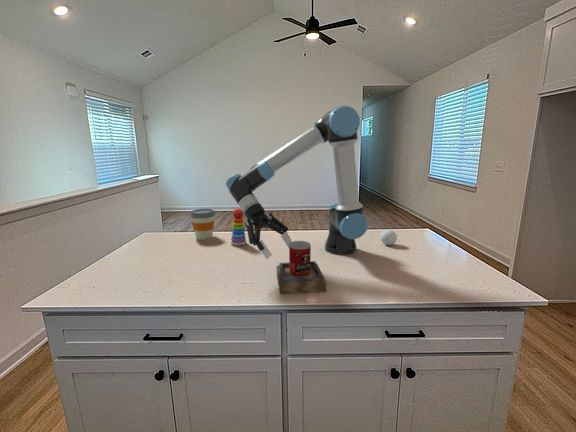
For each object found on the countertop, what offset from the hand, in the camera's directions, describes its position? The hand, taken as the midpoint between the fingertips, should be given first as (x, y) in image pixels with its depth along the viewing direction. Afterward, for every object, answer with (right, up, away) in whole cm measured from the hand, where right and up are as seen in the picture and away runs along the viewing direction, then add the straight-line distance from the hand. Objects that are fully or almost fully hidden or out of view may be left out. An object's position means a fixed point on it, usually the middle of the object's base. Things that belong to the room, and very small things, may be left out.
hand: (281, 251), depth 115 cm
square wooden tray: (+7, -11, -3) cm, 13 cm away
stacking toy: (-23, -1, +43) cm, 49 cm away
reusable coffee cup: (-44, +1, +56) cm, 71 cm away
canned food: (+7, -7, -4) cm, 11 cm away
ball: (+54, -1, +40) cm, 67 cm away
